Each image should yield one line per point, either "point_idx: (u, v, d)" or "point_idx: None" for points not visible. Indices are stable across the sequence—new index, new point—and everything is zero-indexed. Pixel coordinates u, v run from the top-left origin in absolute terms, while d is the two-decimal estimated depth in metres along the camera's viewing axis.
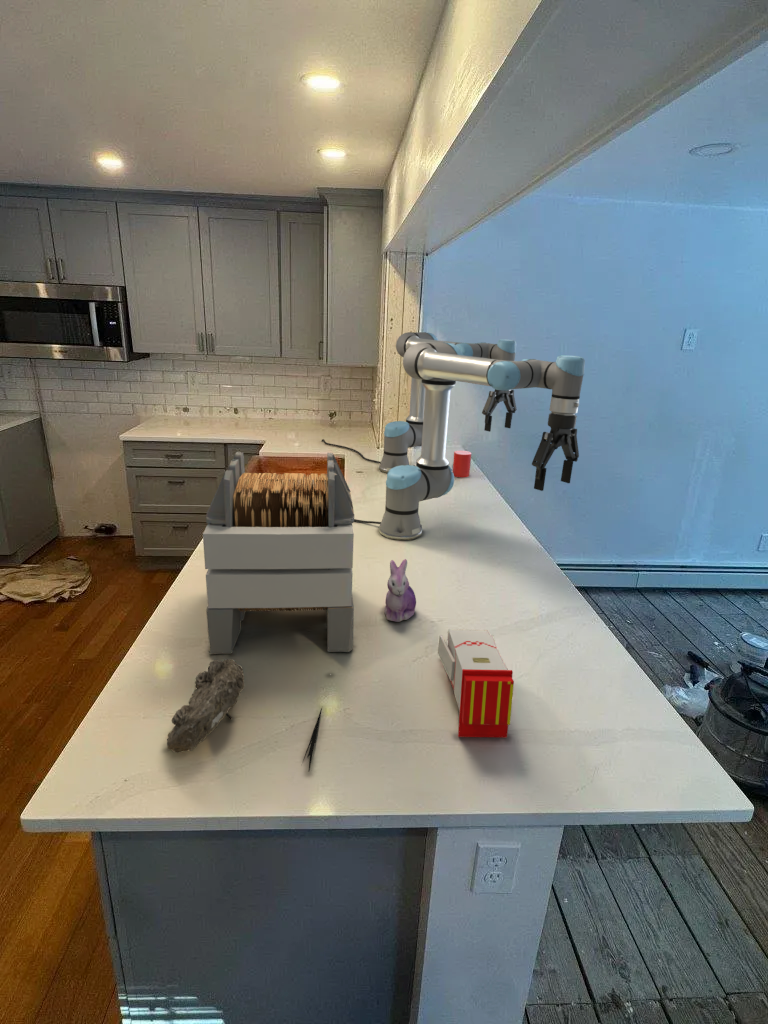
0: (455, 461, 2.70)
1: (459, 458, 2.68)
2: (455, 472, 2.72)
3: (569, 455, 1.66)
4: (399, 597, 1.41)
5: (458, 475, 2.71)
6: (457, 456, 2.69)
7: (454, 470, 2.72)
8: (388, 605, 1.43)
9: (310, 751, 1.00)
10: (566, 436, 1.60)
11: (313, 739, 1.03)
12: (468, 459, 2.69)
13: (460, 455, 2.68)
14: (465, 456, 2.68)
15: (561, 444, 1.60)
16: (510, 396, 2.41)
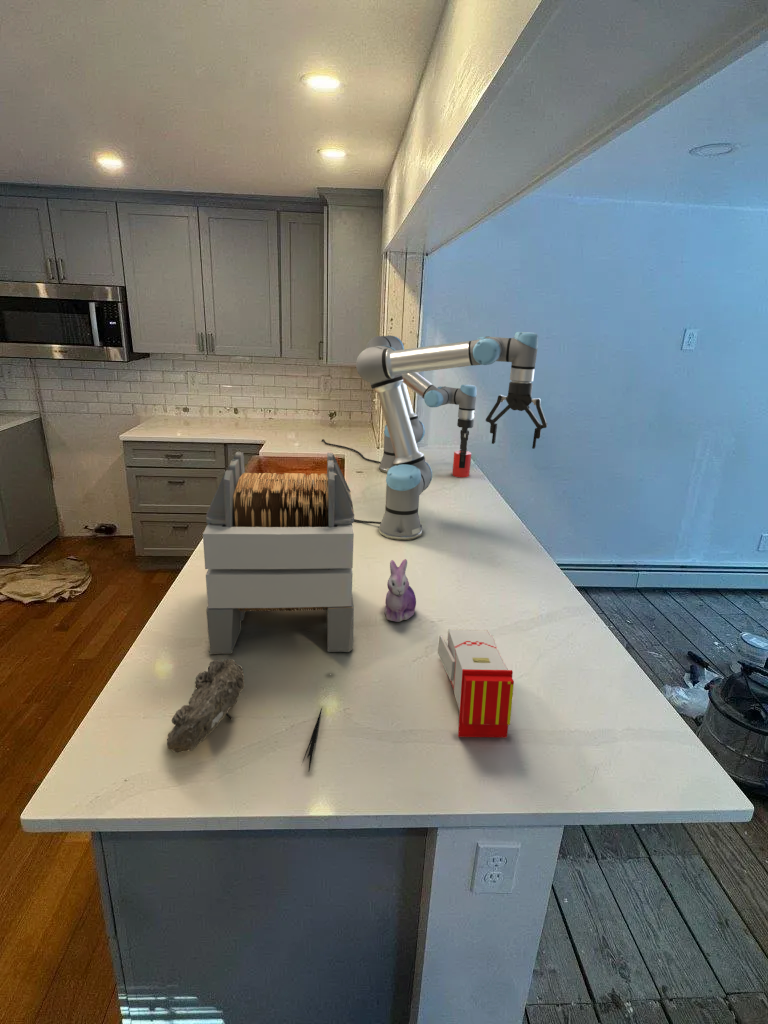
0: (455, 461, 2.70)
1: (459, 458, 2.68)
2: (455, 472, 2.72)
3: None
4: (399, 597, 1.41)
5: (458, 475, 2.71)
6: (457, 456, 2.69)
7: (454, 470, 2.72)
8: (388, 605, 1.43)
9: (310, 751, 1.00)
10: None
11: (313, 739, 1.03)
12: (468, 459, 2.69)
13: None
14: None
15: None
16: None
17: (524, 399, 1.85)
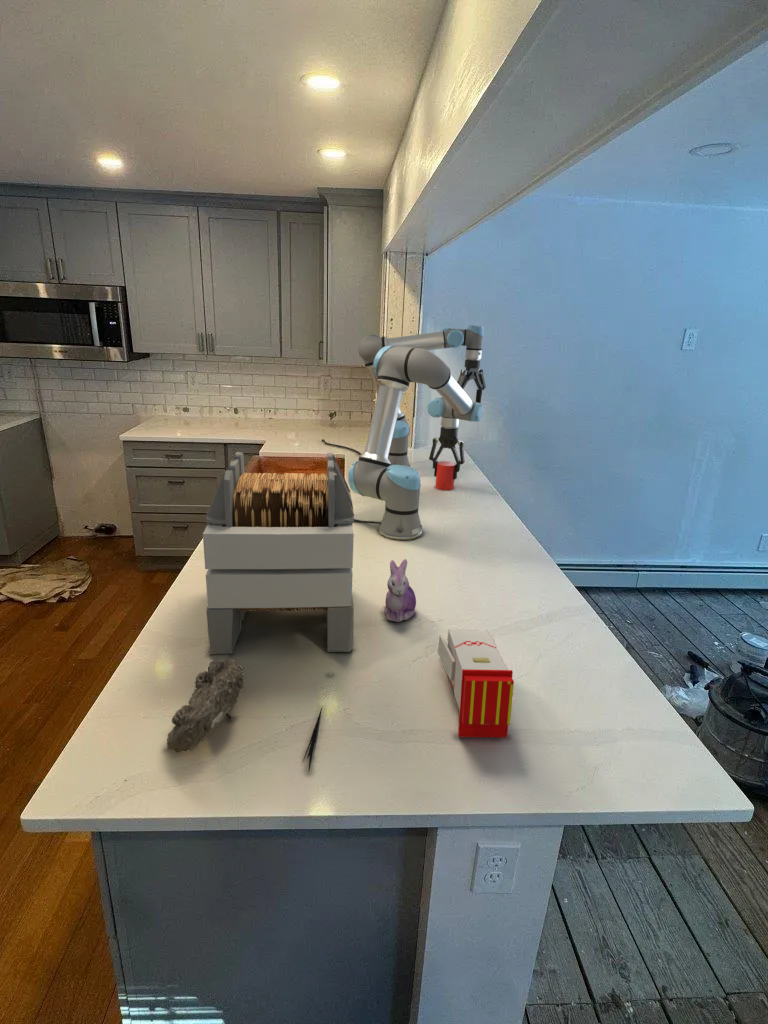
0: None
1: (437, 468, 2.50)
2: None
3: (438, 456, 2.51)
4: (399, 597, 1.41)
5: (436, 486, 2.52)
6: (437, 465, 2.51)
7: None
8: (388, 605, 1.43)
9: (310, 751, 1.00)
10: None
11: (313, 739, 1.03)
12: (445, 470, 2.47)
13: (438, 465, 2.49)
14: (442, 467, 2.48)
15: None
16: (480, 375, 2.77)
17: (452, 439, 2.45)
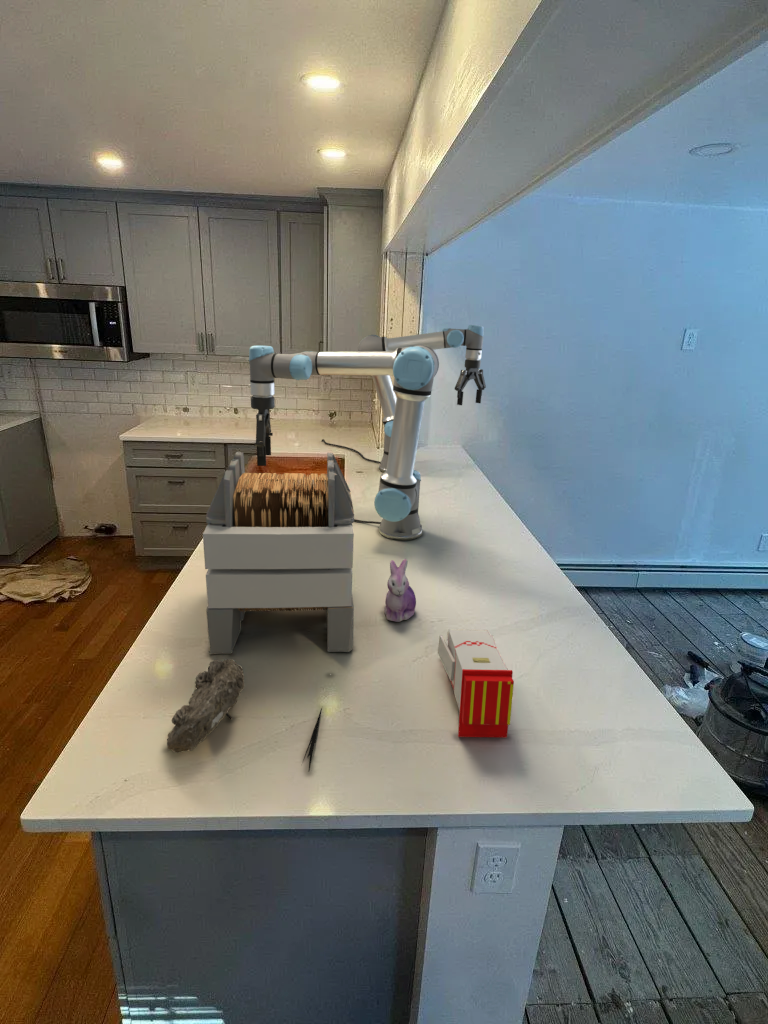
0: None
1: None
2: None
3: None
4: (399, 597, 1.41)
5: None
6: None
7: None
8: (388, 605, 1.43)
9: (310, 751, 1.00)
10: None
11: (313, 739, 1.03)
12: None
13: None
14: None
15: None
16: (480, 375, 2.77)
17: (267, 411, 1.85)
